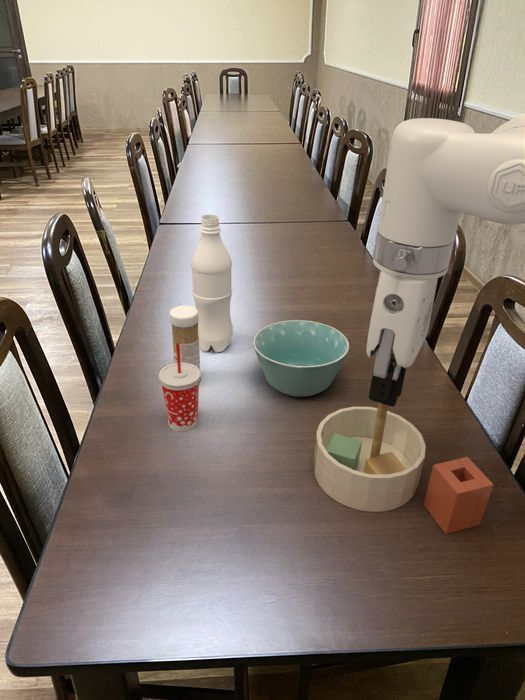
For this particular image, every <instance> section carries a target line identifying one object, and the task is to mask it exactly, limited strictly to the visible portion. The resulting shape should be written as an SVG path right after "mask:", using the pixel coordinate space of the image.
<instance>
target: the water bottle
mask: <svg viewBox="0 0 525 700" xmlns="http://www.w3.org/2000/svg"><path fill="white" fill-rule="evenodd" d="M200 224H201V225H200V228H199V232H200V240H199V241H198V244H197V246H196V247H195V250H194V252H193V254H192V256H191V261H190V268H191V278H192V279H191V280H192V291H191V293H192V297H193V300H194V305H195V308H196V309H197V310H198V315H199V321H198V336H199V349H200V350H202V351H204V352H208V351H209V350H210V348H211V347H212V349H213V351H214V353H220V352H223V351H225V350H226V348H227V347H229V346H230V344H231V342H232V340H233V337H234V326H233V325H234V324H233V322H232V317H231V299H232V295H233V288H232V267H233V262H232V257H231V254H230V253H229V251H228V249H227V247H226V246H225V244H224V242H223V240H222V238H221V232H222V230H221V225H220V217H219V216H218V215H216V214H205V215H202V216H200Z"/></svg>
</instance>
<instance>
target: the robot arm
mask: <svg viewBox="0 0 525 700" xmlns="http://www.w3.org/2000/svg"><path fill="white" fill-rule="evenodd" d="M385 172H386V173H385V179H384V185H383V191H382V199H381V205H380V211H379V218H378V224H377V225H378V226H377V232H376V238H375V244H374V251H373V258H372V264H373V265H374V267H375V268H377V269H378V270H379V271H380V272H379V276H378V280H377V286H376V288H375V295H374V300H373V301H374V302H373V306H372V310H371V315H370V316H371V317H370V321H369V328H368V333H367V341H366V355H367V357H368V358H369V359H373V357H375V358H374V365H373V371H372V375H371V381H370V386H369V392H368V399H369V400H370V401H372V402H375V403H377V404H378V403H382V404H385V405H388V407H392V408H393V407H395V406H396V404H397V401H398V398H399V397H400V396H401V395H402V391H403V387H404V382H405V377H406V372H407V369H408V368H410V367H411V366H412V365H413V364H414V362H415V361H416V358H417V357H418V354H419V353H420V351H421V349H422V347H423V344H424V343H425V341H426V338H427V336H428V332H429V329H430V323H431V318H432V311H433V307H434V301H435V296H436V290H437V286H438V278H442V277H444V276H445V275H446V274H447V273H448V269H449V265H450V262H451V258H452V252H453V249H454V244H455V239H456V237H457V231H458V227H459V223H460V219H461V213H464V214H468V215H470V216H474V217H475V218H479V219H482V220H485V221H489V222H493V223H496V224H501V225H523V224H525V112H524V113H522V114H519V115H517V116H514V117H513V118H511V119H509V120H508V121H505V122H504V123H503V124H501V125H500V126H498V127H497V128H496V129H494V130H493V131H492V132H491V133H480V132H479V133H478V132H475V130H474V128H472V127H471V126H470V125H468V124H466V123H464V122H461V121H457V120H451V119H444V118H433V117H421V118H420V117H419V118H410V119H406V120H404V121H402V122H400V123H399V124H398V125H397V126H396V127H395V128H394V130H393V134H392V136H391V139H390V145H389V151H388V159H387V165H386V171H385ZM390 361H391V362H395V366H394V365H393V364H389V363H390Z"/></svg>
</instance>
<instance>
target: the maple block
mask: <svg viewBox="0 0 525 700" xmlns="http://www.w3.org/2000/svg"><path fill="white" fill-rule="evenodd" d="M405 469H406V468H405V467H404V465H403V464H402V463H401V462H400V461H399V460H398V458H397V457H396V456H395V455H394V454H393V452H388V453H385V454H382V455H378V456H375V457H372V458H369V459H366V460H365V467H364V473H368V474H387V475H388V474H392V473H397V472H401V471H404V470H405Z"/></svg>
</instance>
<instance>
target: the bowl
mask: <svg viewBox="0 0 525 700" xmlns="http://www.w3.org/2000/svg"><path fill="white" fill-rule="evenodd" d="M252 346H253V349H254V351H255V354H256V357H257V359H258V362H259V364H260V366H261V369H262V372H263V374H264V376H265V379H266V381H267V382H268V384H269V385H270V386H271V387H272V388H274V389H275V390H276V391H279V392H280V393H281V394H284V395H285V396H289V397H290V396H291V397H295V398H304V397H305V398H306V397H311V396H314V395H317V394H320V393H322V392H323V391H325V390H326V389H328V388H329V387H330V386H331V384H332V382H333V381H334V379H335V377H336V375H337V374H338V372H339V370H340V368H341V367H342V364H343V363H344V361H345V359H346V357H347V355H348V353H349V350H350V343H349V340H348V338H347V337H346V336H345V335H344V333H342V332H341V331H340V330H338V329H337V328H336V327H332V326H331V325H328V324H325V323H322V322H317V321H312V320H304V319H303V320H302V319H295V320H294V319H291V320H282V321H277V322H274V323H271V324H269V325H266V326H264V327H262V328H261V329H260V330H258V332H256V334H255V335H254V337H253V340H252Z"/></svg>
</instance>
